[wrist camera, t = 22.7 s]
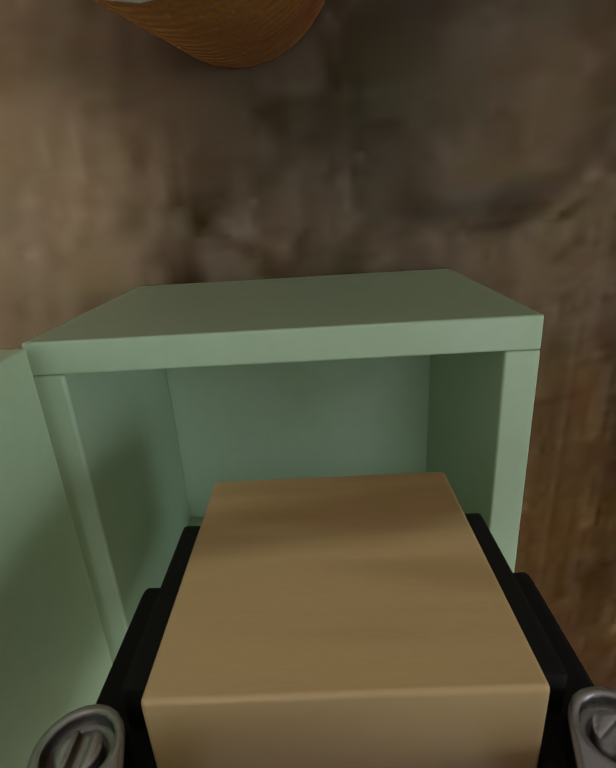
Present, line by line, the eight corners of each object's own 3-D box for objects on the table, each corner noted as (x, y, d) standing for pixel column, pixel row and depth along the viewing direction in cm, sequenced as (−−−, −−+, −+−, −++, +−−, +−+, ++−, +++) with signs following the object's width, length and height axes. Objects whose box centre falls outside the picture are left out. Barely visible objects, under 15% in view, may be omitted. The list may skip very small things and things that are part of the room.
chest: (449, 268, 18) (546, 314, 10) (438, 510, 21) (503, 669, 14) (137, 286, 18) (19, 343, 11) (180, 521, 22) (114, 682, 14)
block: (214, 480, 11) (137, 702, 6) (444, 470, 10) (553, 687, 6) (239, 650, 12) (195, 925, 8) (435, 642, 12) (514, 917, 7)
